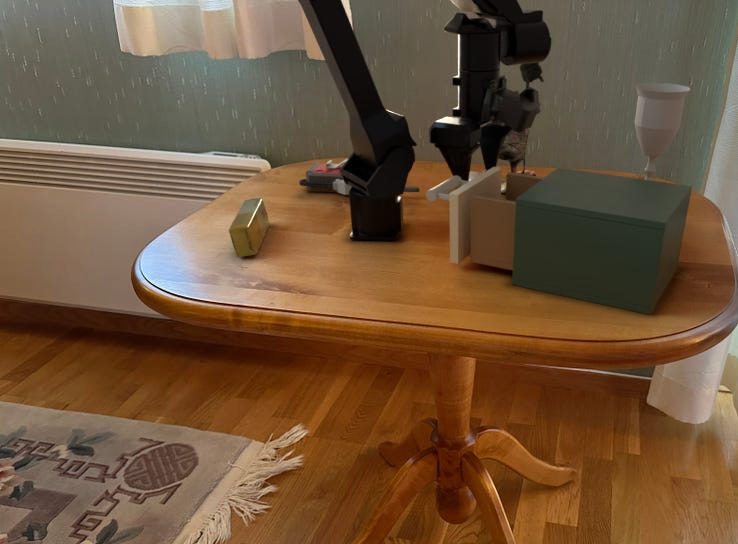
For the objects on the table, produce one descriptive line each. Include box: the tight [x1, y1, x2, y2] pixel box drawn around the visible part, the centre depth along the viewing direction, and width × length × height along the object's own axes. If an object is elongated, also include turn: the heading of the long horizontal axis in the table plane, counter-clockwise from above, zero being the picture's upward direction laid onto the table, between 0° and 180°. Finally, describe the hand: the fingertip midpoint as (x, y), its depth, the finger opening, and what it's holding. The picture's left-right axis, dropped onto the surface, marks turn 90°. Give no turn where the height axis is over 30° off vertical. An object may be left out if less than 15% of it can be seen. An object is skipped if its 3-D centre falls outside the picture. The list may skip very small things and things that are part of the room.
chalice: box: [634, 82, 691, 181], centre depth 97 cm, size 7×7×18 cm
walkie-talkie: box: [298, 158, 420, 196], centre depth 110 cm, size 9×4×20 cm
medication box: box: [228, 197, 270, 258], centre depth 91 cm, size 12×3×4 cm, turn 6°
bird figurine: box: [482, 62, 544, 194], centre depth 107 cm, size 8×11×20 cm
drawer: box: [425, 166, 546, 272], centre depth 84 cm, size 20×12×9 cm, turn 63°
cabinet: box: [511, 167, 693, 316], centre depth 80 cm, size 17×14×11 cm
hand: (477, 181), depth 101 cm, fingers open, 9 cm apart
